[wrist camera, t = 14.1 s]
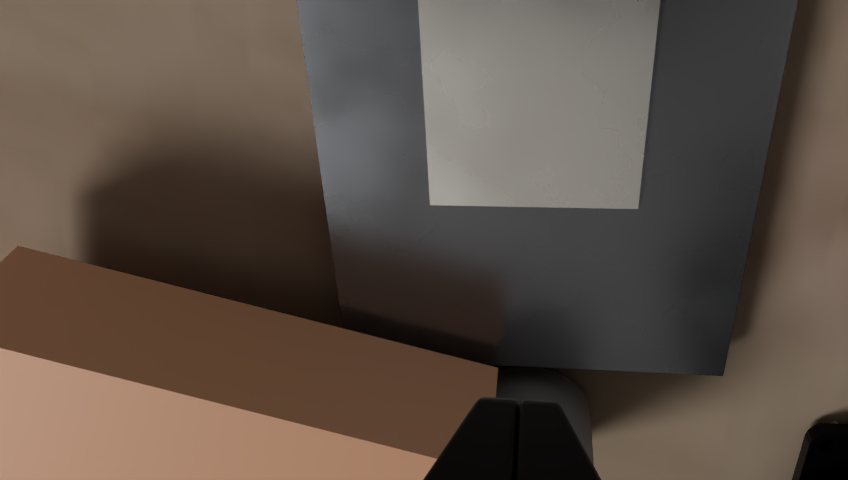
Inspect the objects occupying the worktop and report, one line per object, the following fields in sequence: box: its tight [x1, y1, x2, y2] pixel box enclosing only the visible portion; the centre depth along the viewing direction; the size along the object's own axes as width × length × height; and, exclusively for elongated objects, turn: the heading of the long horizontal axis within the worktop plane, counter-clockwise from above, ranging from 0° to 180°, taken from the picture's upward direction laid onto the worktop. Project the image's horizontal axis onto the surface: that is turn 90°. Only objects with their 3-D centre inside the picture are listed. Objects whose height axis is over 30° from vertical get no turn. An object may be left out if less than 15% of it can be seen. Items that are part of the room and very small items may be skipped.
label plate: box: [296, 0, 798, 376], centre depth 18 cm, size 10×13×1 cm
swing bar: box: [0, 246, 594, 480], centre depth 21 cm, size 16×5×5 cm, turn 78°
